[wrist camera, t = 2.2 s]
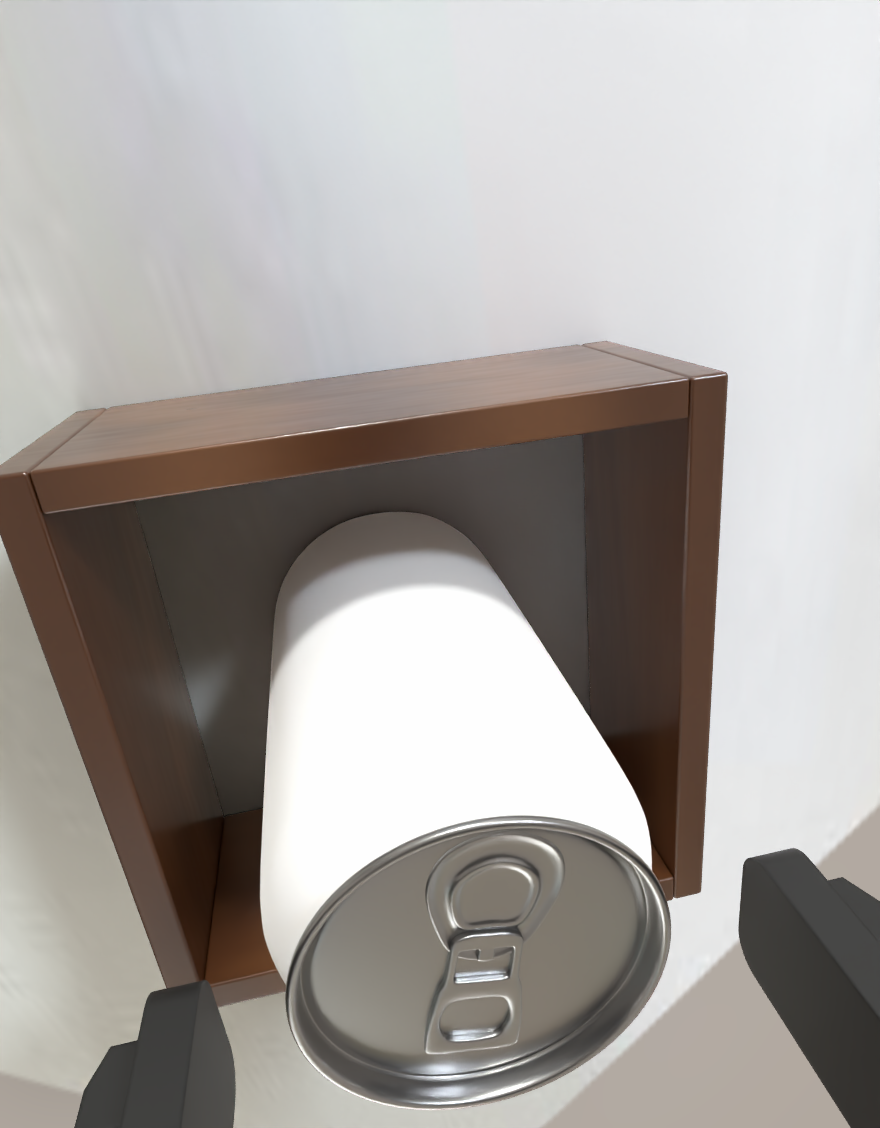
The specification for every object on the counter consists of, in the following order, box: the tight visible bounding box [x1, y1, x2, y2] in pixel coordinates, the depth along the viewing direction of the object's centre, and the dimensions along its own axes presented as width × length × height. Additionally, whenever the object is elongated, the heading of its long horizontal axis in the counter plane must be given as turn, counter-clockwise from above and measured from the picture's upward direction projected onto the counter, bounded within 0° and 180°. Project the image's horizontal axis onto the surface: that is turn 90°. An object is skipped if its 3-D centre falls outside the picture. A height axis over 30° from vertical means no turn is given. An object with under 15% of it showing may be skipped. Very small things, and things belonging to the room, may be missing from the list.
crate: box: [0, 341, 728, 1007], centre depth 19 cm, size 14×14×6 cm
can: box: [260, 512, 671, 1110], centre depth 16 cm, size 6×6×12 cm
